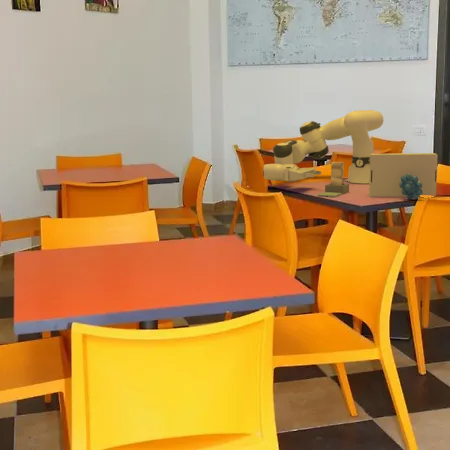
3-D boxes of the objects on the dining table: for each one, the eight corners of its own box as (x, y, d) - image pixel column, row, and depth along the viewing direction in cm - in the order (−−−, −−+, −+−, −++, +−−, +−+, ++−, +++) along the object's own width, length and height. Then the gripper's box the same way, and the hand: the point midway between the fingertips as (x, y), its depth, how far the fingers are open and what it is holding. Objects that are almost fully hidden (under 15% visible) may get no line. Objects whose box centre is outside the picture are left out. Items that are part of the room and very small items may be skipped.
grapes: (394, 199, 311) (395, 173, 308) (401, 197, 316) (402, 172, 313) (417, 201, 303) (418, 175, 301) (424, 200, 308) (425, 173, 305)
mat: (324, 193, 332) (324, 192, 332) (341, 194, 328) (341, 193, 328) (317, 196, 324) (317, 194, 324) (335, 197, 320) (335, 195, 320)
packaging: (433, 194, 322) (435, 153, 318) (435, 196, 316) (437, 154, 312) (368, 195, 325) (369, 153, 321) (370, 197, 319) (371, 154, 315)
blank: (333, 191, 338) (334, 161, 335) (343, 192, 336) (343, 162, 333) (330, 192, 335) (331, 162, 332) (340, 193, 332) (341, 163, 329)
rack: (330, 190, 341) (331, 182, 340) (349, 191, 336) (349, 183, 336) (325, 193, 334) (325, 185, 333) (343, 194, 329) (343, 186, 328)
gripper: (299, 176, 354) (324, 177, 348) (284, 181, 337) (309, 182, 330) (299, 164, 353) (324, 165, 346) (284, 168, 335) (310, 170, 329)
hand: (317, 174), depth 338 cm, fingers open, 8 cm apart
